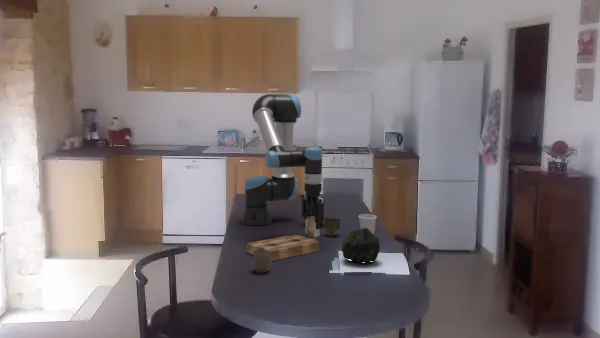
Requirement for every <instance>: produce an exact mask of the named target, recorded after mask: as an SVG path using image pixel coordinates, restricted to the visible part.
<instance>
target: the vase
mask: <svg viewBox="0 0 600 338" xmlns="http://www.w3.org/2000/svg"><path fill="white" fill-rule="evenodd" d="M252 266H253V269H254V271H255V272H256V273H258V274H266V273H268V272H269V270H270V268H271V266H272V261H271V258H270V256H269V254H268V253H267V252H266V250H265V249H264V248H259V249H258V251H257V253H256V254H255V255H253V258H252Z"/></svg>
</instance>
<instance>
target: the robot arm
mask: <svg viewBox="0 0 600 338" xmlns="http://www.w3.org/2000/svg"><path fill="white" fill-rule="evenodd" d="M251 111H252V112H251V113H252V118H253V121H254V122H255V123H257V126H258V129H259V133H260V134H261V137H262V139H263V140H262V141H263V143H264V145H265V149H266V152H265V154H264V161H265V162H264V163H265V166H266V167H268V168H270V169H271V168H274V171H273V173H271V178H269V177H268V175H256V176H255V175H254V176H251V177H248V178H246V180H245V181H244V209H243V213H242V216H241V224H242V225H246V226H259V227H260V226H266V225H270V224H272V215H271V213H270V209H269V202H283V201H284V202H287V201H293V200H295V198H296V197H297V196H298V191H299V180H298V178H297V177H296V176H295V174H294V173H293V168H299V167H300V168H302V167H304V182H305V183H304V192H305V194H302V195H300V196H301V217H302V218H304V226H305V232H304V233H305V235H307V217H310V215H311V210H312V207H313V210H314V216H315V221H314V237H316V238H317V237H320V229H321V227H320V222H321V221H323V222H324V219H325V201H326V199H325V198H323V199H322V198H321V197H320V195H321V194H320V193H321V192H322V190H323V189H322V187H323V186H322V182H323V176H322V175H323V173H322V171H323V151H322V150H323V149H322V148H321V147H316V146H315V147H311V146H310V147H306V148H300V149H294V150H293V144H294V125H295V124H296V123H298V121H297V120H298V119H300V118H301V116H302V115H301V114H302V104H301V101H300V99H299V97H298V95H296V94H291V93H279V94H278V93H277V94H271V93H270V94H269V93H267V94H264V95H262V96H260V97H258V98H257V99H256V101H255V102H254V103H253V106H252V110H251ZM315 204H316V205H315Z"/></svg>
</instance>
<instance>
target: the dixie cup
mask: <svg viewBox="0 0 600 338" xmlns="http://www.w3.org/2000/svg"><path fill="white" fill-rule="evenodd" d="M357 217H358V220H359V229H361V228H367V229H369V230H370V231H371V232H372V233H373V234H374V235H375V228H376V221H377V215H375V214H370V213H369V214H368V213H366V214H365V213H362V214H359V215H358V216H357Z"/></svg>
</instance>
